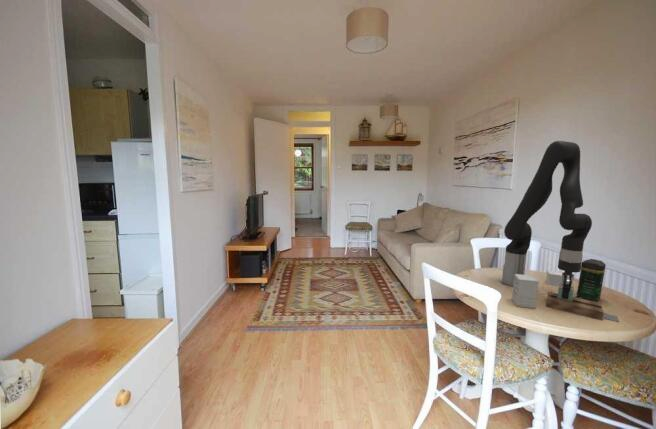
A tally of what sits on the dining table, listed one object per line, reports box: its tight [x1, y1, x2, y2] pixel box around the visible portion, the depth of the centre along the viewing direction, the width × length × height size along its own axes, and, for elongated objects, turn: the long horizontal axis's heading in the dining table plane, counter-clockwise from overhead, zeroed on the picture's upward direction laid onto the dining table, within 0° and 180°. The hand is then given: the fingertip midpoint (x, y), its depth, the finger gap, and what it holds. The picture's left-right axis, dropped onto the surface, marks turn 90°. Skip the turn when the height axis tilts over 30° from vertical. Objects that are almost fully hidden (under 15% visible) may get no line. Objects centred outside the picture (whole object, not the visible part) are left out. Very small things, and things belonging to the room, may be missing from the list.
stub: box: [557, 284, 575, 301], centre depth 123 cm, size 5×2×9 cm, turn 50°
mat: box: [603, 312, 620, 323], centre depth 115 cm, size 4×6×1 cm
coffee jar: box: [576, 258, 607, 302], centre depth 132 cm, size 10×8×19 cm
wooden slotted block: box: [545, 291, 605, 321], centre depth 122 cm, size 18×11×4 cm, turn 50°
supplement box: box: [511, 274, 539, 309], centre depth 125 cm, size 7×7×13 cm
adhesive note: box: [545, 270, 562, 287], centre depth 150 cm, size 6×6×6 cm
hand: (564, 297), depth 124 cm, fingers closed
